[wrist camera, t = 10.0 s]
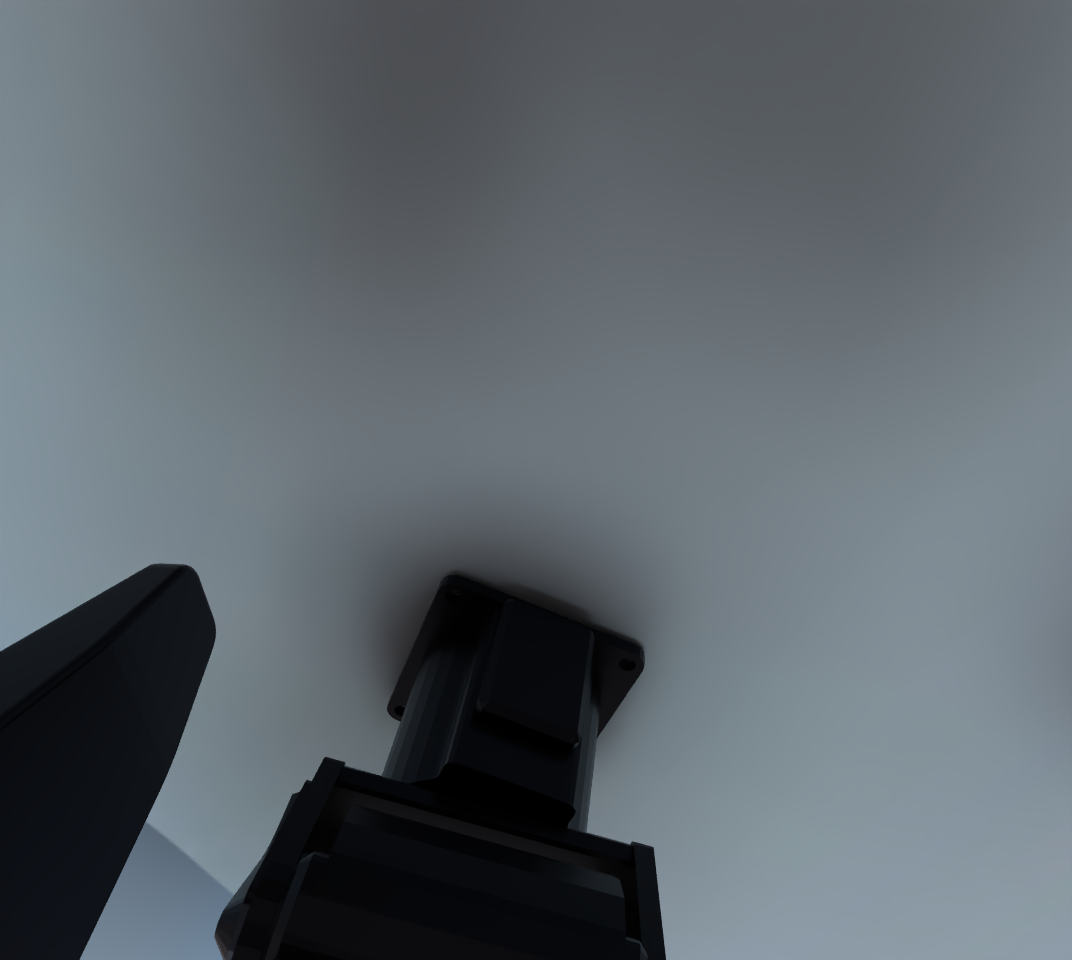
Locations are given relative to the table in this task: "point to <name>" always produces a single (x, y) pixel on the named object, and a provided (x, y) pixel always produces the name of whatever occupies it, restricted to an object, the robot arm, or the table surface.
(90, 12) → the table surface
